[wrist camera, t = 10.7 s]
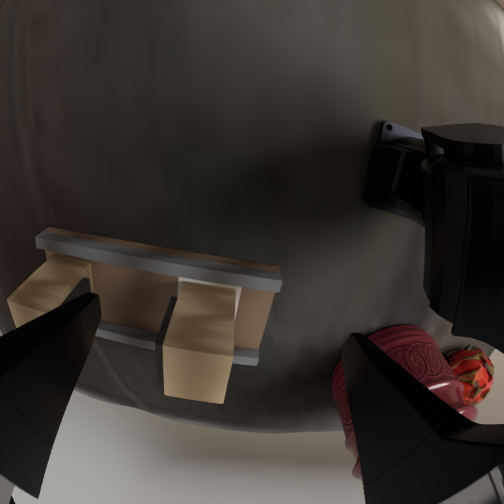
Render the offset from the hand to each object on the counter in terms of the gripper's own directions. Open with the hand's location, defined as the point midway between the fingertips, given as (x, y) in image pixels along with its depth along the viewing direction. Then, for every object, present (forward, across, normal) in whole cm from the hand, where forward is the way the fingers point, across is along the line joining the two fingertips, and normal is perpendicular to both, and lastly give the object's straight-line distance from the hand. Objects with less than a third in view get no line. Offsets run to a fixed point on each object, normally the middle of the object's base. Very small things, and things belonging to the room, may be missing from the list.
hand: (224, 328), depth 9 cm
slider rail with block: (+12, +6, +8) cm, 16 cm away
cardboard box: (+11, +1, +8) cm, 13 cm away
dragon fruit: (+12, -32, +14) cm, 37 cm away
